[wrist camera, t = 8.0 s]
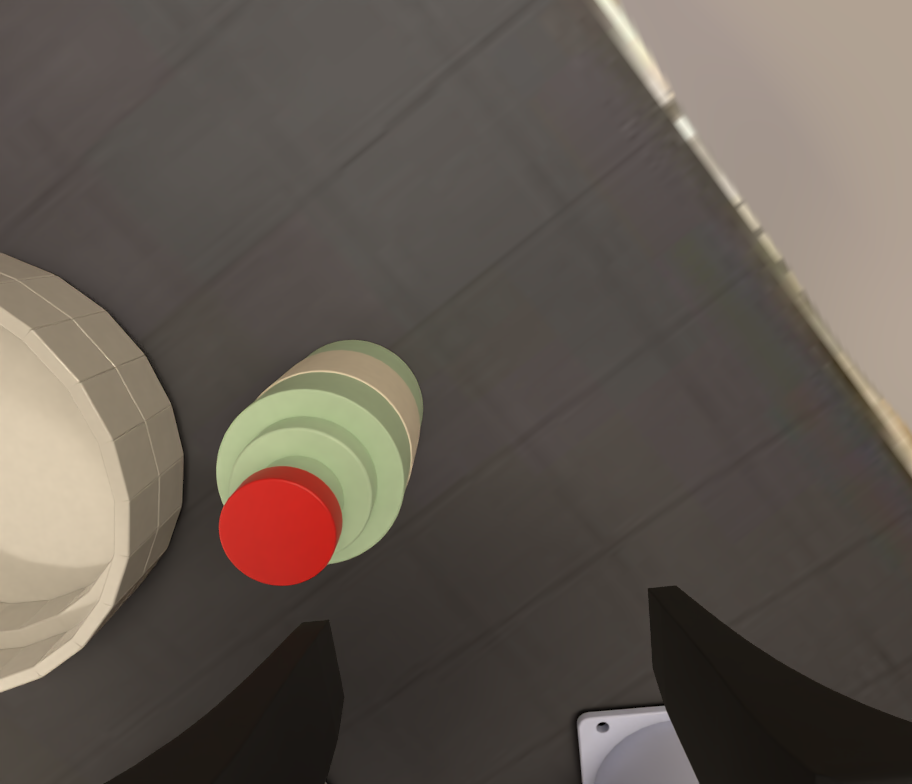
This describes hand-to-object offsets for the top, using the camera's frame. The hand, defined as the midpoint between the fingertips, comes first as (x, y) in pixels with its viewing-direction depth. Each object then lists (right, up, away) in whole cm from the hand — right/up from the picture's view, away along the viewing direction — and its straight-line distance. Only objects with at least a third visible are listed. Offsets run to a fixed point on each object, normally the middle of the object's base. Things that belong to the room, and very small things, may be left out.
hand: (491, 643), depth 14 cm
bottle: (-4, +5, +9) cm, 12 cm away
